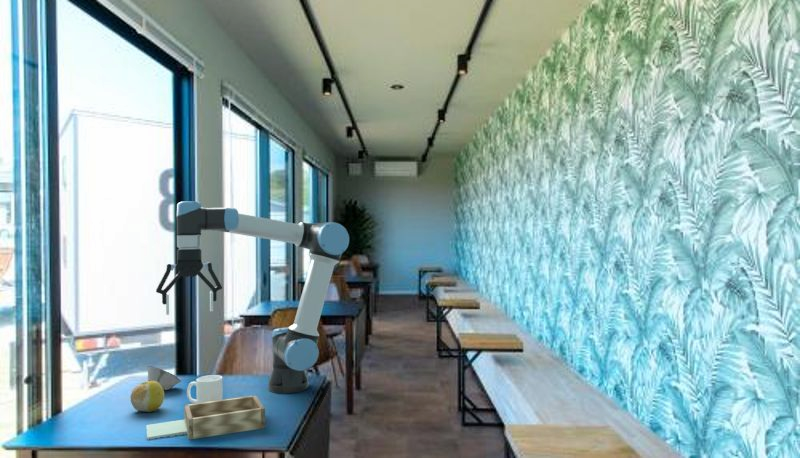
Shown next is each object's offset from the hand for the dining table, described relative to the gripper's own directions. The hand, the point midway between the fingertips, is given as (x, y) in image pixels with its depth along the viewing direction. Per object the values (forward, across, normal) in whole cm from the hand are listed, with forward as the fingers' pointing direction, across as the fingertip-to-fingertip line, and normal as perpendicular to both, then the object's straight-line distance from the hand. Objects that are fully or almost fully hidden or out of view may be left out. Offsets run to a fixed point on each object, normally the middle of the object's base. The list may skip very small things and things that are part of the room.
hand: (189, 312), depth 181 cm
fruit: (+33, +13, -7) cm, 36 cm away
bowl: (+33, +7, -31) cm, 46 cm away
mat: (+33, +8, +16) cm, 37 cm away
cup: (+33, -4, -2) cm, 33 cm away
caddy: (+33, -8, +19) cm, 39 cm away
